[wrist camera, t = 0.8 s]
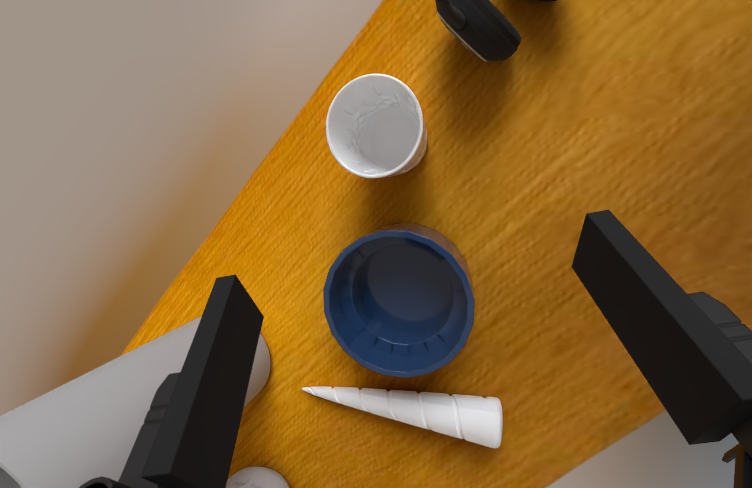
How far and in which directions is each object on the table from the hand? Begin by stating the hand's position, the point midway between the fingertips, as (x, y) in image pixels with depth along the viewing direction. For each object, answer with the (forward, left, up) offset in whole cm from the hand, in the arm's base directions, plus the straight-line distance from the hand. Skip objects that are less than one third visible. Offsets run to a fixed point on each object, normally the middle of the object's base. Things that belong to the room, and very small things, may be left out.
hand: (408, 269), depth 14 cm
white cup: (+7, -6, -25) cm, 26 cm away
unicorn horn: (-3, +22, -25) cm, 33 cm away
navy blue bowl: (+1, +9, -25) cm, 26 cm away
